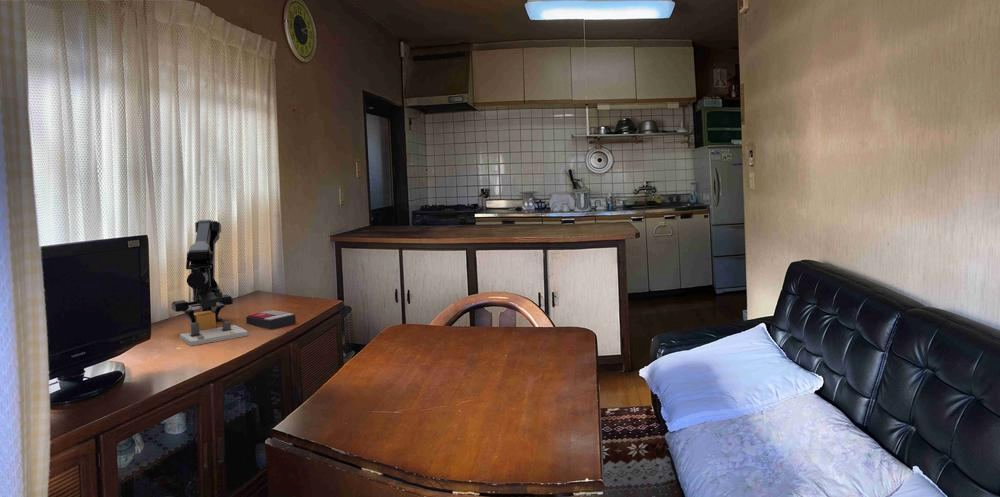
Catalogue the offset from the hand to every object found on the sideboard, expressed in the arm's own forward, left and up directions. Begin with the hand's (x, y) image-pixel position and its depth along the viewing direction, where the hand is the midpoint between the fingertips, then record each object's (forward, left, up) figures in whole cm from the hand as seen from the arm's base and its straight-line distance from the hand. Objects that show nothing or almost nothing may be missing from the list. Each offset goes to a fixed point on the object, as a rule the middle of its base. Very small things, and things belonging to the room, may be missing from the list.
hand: (204, 326), depth 205 cm
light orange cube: (0, 0, -1) cm, 1 cm away
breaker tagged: (+11, +4, -1) cm, 12 cm away
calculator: (+7, +21, -2) cm, 22 cm away
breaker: (+11, -6, 0) cm, 13 cm away
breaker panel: (+12, 0, -1) cm, 12 cm away
